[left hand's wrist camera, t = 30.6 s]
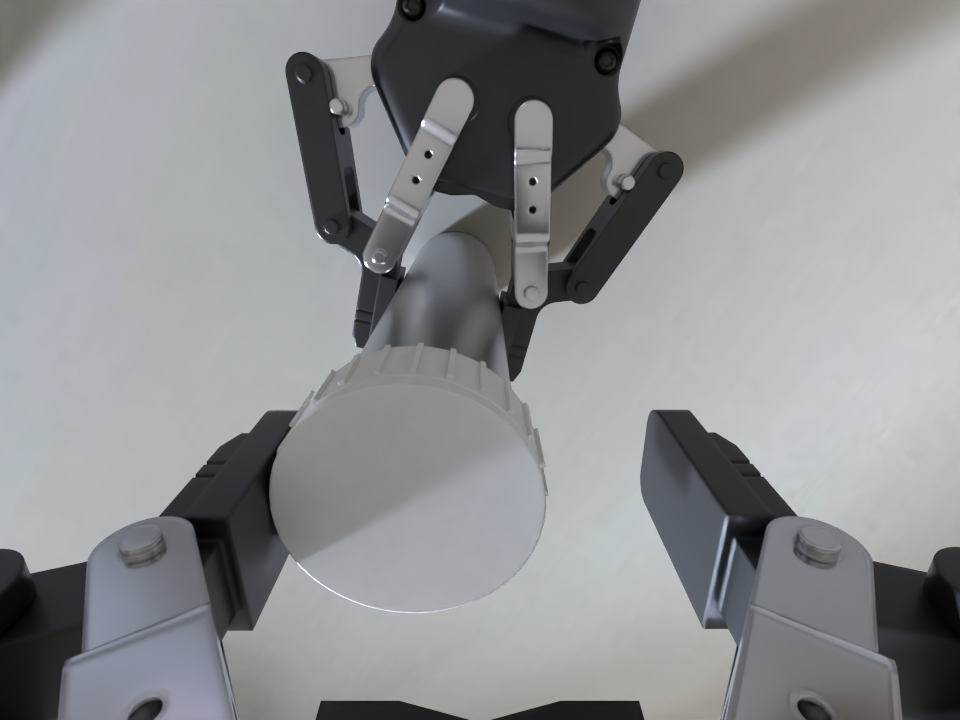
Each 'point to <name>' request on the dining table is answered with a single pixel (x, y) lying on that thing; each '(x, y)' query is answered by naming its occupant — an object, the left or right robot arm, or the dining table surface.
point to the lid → (410, 481)
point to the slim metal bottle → (447, 304)
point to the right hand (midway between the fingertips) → (434, 369)
